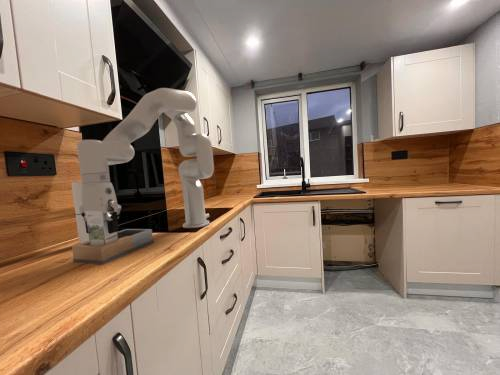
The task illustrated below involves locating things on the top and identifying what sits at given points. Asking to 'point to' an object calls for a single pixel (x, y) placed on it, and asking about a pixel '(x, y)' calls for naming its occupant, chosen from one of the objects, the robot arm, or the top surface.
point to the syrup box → (98, 228)
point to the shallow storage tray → (112, 247)
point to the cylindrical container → (79, 219)
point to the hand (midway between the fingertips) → (102, 232)
